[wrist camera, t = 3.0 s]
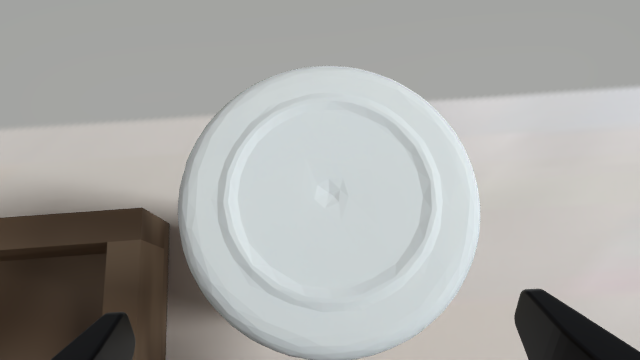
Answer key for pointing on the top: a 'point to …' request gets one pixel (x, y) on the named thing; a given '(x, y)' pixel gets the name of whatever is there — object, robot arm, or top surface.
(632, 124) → the top surface
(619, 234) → the top surface
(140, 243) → the walnut holder
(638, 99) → the top surface
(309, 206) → the sprinkles bottle
